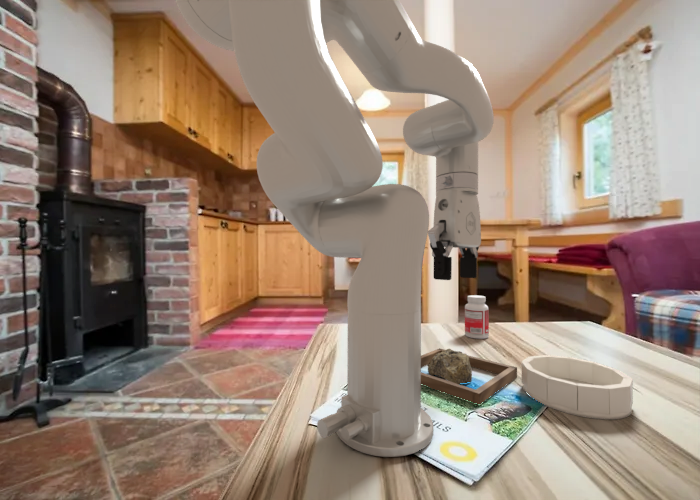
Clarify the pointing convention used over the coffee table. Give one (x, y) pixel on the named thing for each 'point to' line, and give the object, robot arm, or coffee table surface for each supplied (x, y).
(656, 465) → the coffee table surface
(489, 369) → the rectangular wooden frame
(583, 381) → the bowl
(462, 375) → the rock
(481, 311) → the pill bottle
